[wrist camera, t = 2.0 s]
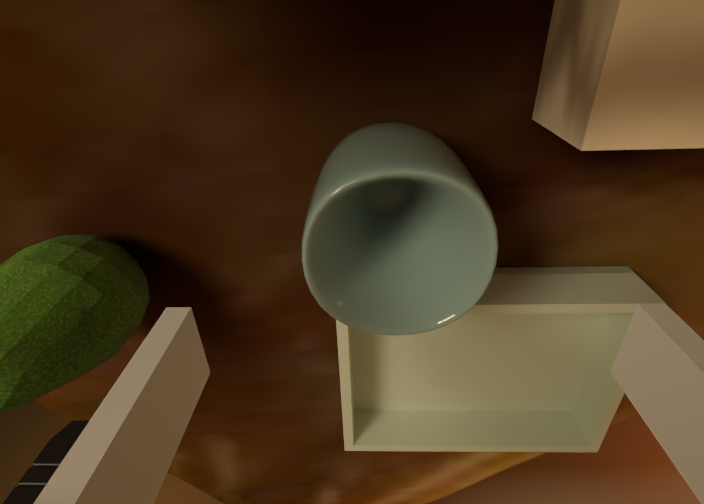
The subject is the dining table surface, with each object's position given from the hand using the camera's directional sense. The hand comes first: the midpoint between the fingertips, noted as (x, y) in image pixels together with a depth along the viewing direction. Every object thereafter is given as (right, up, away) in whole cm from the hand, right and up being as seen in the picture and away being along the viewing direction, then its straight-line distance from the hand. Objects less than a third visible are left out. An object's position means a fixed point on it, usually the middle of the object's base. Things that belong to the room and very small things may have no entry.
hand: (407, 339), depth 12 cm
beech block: (+11, +13, +8) cm, 19 cm away
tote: (+7, -5, +19) cm, 21 cm away
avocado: (-18, +2, +16) cm, 24 cm away
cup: (0, +7, +12) cm, 14 cm away
